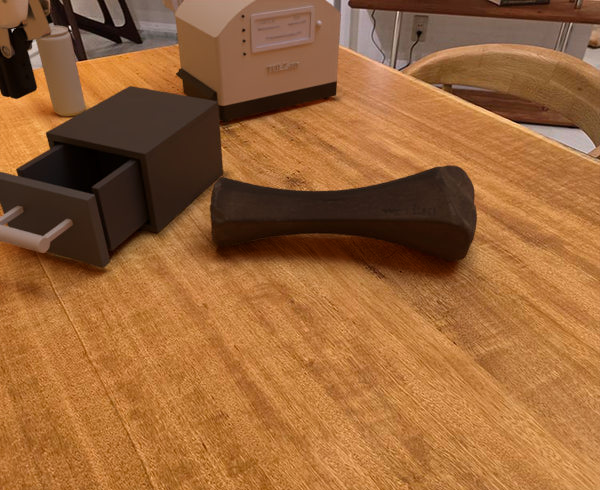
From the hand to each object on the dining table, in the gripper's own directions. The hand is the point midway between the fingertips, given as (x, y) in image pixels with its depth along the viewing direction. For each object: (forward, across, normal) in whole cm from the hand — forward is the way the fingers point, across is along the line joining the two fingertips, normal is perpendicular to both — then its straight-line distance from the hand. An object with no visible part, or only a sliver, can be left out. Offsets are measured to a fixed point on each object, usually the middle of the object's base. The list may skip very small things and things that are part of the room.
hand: (20, 93), depth 59 cm
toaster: (+15, +1, +46) cm, 48 cm away
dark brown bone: (+14, +33, +8) cm, 37 cm away
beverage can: (+15, -19, +26) cm, 35 cm away
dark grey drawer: (+13, +7, -2) cm, 15 cm away
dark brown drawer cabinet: (+14, +6, +10) cm, 18 cm away
